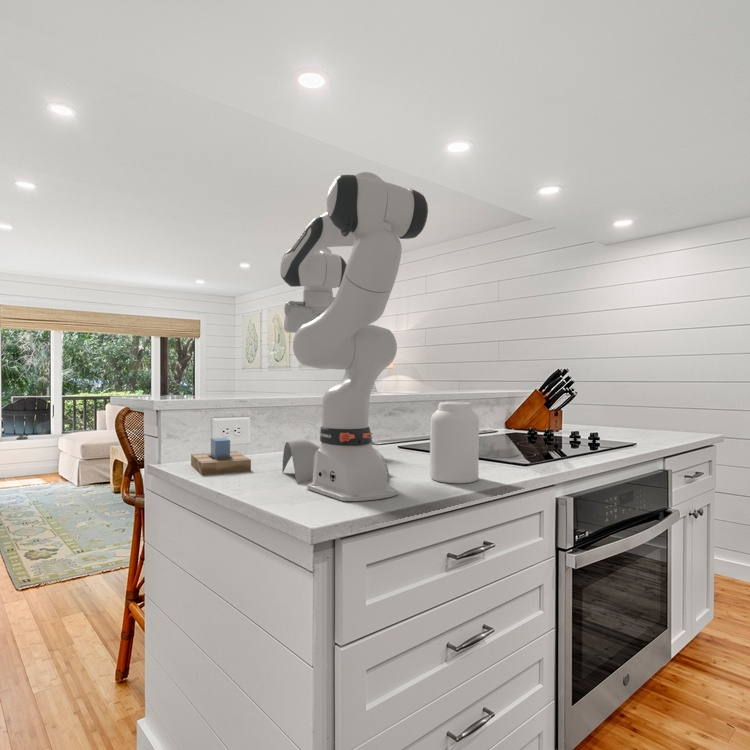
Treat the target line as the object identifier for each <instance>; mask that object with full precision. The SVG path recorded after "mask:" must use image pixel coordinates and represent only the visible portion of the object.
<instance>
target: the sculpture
mask: <svg viewBox="0 0 750 750" xmlns="http://www.w3.org/2000/svg"><path fill="white" fill-rule="evenodd" d="M319 448H320V446H319V445H317V444H315V443H314V442H312V441H310V440H308V439H307V440H306V439H295V440H289V441H287V442H285V444H284V447H283V455H282V470H281V472H282V474H283V473H284V471H285V469H286V467H287V465H288V463H289V461H290V460H291V458H292V463H293V470H294V476H295V482H296V485H299V484H300V483H304V482H307V481H310V480H313V470H314V457H315V453H316V451H317V450H318V449H319ZM373 448H374V447H373ZM374 450H375V451H376V453H377V454H378V456H379V458H380V459H381V461H382V462H383V463H384V462H385V463H386V464H387V461H386V459H385V457H384V455H383V454H382V453H381V452H379V451H378V450H377V449H376V448H374ZM387 475H388V476H390V472H389V469H388V466H387Z"/></svg>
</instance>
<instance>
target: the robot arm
mask: <svg viewBox="0 0 750 750" xmlns="http://www.w3.org/2000/svg"><path fill="white" fill-rule="evenodd" d="M326 209H327V210H326V212H325V213H323V214H320V215H319V216H317V217H315V218H313V219H312V220H311V221H310V222H309V224H308V225H307V226H306V227H305V229H304V230H303V231H302V233H301V234H300V236H299V237H298V238H297V240H296V241H295V242H294V244H293V245H292V247H291V248H290V249H289V250H288V251H286V252H285V253H284V255H283V257H282V259H281V262H280V277H281V279H282V280H283V281H284V282H285V283H286V284H287V285H288V286H289V287H295V288H296V287H299V288H300V287H304V288H303V293H302V297H303V298H302V301H295V300H289V301H287V302H286V303H285V304H284V314H285V315H284V322H283V330H284V332H285V333H292V334H293V333H294V337H293V340H292V350H293V355H294V357H295V358H296V359H297V361H298V362H299V364H300V365H302V366H306V367H310V368H315V369H320V370H345V371H344V376H343V378H342V379H341V381H340V382H338V383H337V384H334V385H333V386H331V387H330V388H328V389H327V390H326V392H325V393H324V395H323V397H322V405H321V406H322V413H321V415H322V416H321V418H322V419H321V421H322V423H321V425H322V426H321V427H320V429H319V441H320V442H321V444H320V446H319V447H320V448H319V449H318V450H317V451H316V453H315V457H314V470H313V479H312V482H310V483H307V487H306V489H307V490H310V491H312V492H316V493H318V494H321V495H324V496H327V497H329V498H333V499H336V500H339V501H343V502H361V501H363V502H365V501H373V500H380V499H381V500H383V499H387V498H393V497H395V496H397V495H398V494H399V493H398V490H397V489H396V488H394V487H393V486H391V485H390V484H389V483H388V479H387V478H388V476H387V475H388V474H387V467H388V464H387V462H386V463H385V462H384V463H383V462H382V461H381V459H380V458H379V456H378V454H377V453H376V451H375V450H374V446H373V444H372V443H373V440H372V438H373V436H372V435H373V432H371V428H370V427H369V411H370V410H369V409H370V400H371V393H372V389H373V387H374V384H375V382H376V380H377V379H378V377H379V376H380V375H381V373H382V372H383V371H384V370H385V369H387V367H389V366H390V365H391V364H392V363H393V361H394V360H395V358H396V356H397V353H398V352H397V351H398V343H397V340H396V337H395V335H394V333H393V332H392V331H391V330H390V329H388V328H384V327H381V326H378V325H375V324H372V323H375V322H377V321H378V320H379V319H380V318H381V316H383V314H384V312H385V309H386V306H387V304H388V302H389V299H390V297H391V293H392V291H393V288H394V286H395V283H396V279H397V276H398V273H399V269H400V262H401V258H402V249H403V248H402V243H401V241H400V240H408V239H409V240H410V239H414V238H416V237H418V236H419V235H420V234H421V233H422V231H423V230H424V228H425V225H426V224H427V219H428V216H429V215H428V214H429V213H428V212H429V205H428V201H427V200H426V197H425V196H424V194H422V193H420V192H419V191H417V190H415V189H412V188H406V187H403V186H400V185H397V184H394V183H390V182H387V181H385V180H383V179H382V178H381V177H380V176H379V175H377V174H376V173H373V172H368V171H367V172H366V171H363V172H359V173H356V174H341V175H338V176H337V177H335V178H334V179H333V181H332V183H331V185H330V187H329V189H328V192H327V195H326ZM336 247H352V249H351V252H350V254H349V258H348V260H347V262H346V260H345V259H344V258H343V257H342V256H341V255H338V254H337V253H335V254H334V253H332V251H331V249H330V248H336ZM336 288H338V290H337V292H336V295H335V296H334V294H333V292H334V291H333V289H336Z"/></svg>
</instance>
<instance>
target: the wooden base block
mask: <svg viewBox="0 0 750 750" xmlns="http://www.w3.org/2000/svg"><path fill="white" fill-rule="evenodd" d="M190 456H191V457H190V465H191V466H192V468H194V469H195V470H196V471H197V472H198V473H199V474H200V475H213V474H214V475H215V474H224V473H225V474H226V473H238V472H251V471H252V459H251V458H249V457H248V456H246V455H243V454H241V452H238V451H235V450H234V451H230V458H229V459H215V460H213V459H212V458H211V452H203V453H192V454H190Z"/></svg>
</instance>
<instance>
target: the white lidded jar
mask: <svg viewBox="0 0 750 750" xmlns="http://www.w3.org/2000/svg"><path fill="white" fill-rule="evenodd" d="M429 423H430V424H429V425H430V431H429V432H430V433H429V435H430V436H429V478H430V479H432V480H434V481H436V482H440V483H445V484H462V485H463V484H470V483H474V482H476V481H478V479H479V463H480V462H479V459H480V456H479V455H480V453H479V452H480V451H479V450H480V449H479V446H480V445H479V444H480V437H479V436H480V420H479V416H478V415H477V414H476V412H475V411H474V410H473V407H472V404H471V403H470V402H466V401H440V402H438V405H437V410H436V411H434V412H433V413H432V415H431V418H430V422H429Z"/></svg>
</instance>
